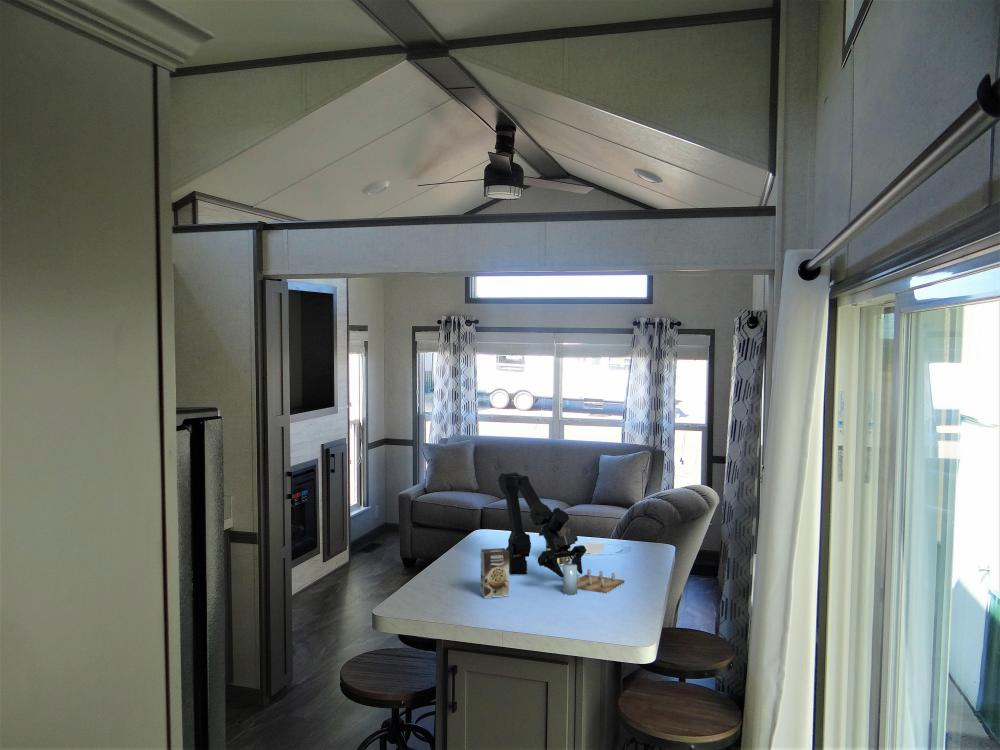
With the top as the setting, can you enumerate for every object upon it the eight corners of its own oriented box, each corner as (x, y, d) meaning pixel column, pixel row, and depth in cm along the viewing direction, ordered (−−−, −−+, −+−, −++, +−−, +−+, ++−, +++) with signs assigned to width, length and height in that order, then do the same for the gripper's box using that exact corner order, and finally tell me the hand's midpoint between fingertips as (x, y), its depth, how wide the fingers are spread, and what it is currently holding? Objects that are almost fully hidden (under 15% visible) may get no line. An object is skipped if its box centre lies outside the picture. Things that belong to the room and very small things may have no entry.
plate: (557, 546, 360) (557, 544, 360) (612, 540, 370) (612, 539, 370) (585, 559, 334) (585, 558, 334) (643, 553, 344) (643, 552, 344)
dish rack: (566, 586, 292) (566, 576, 292) (585, 577, 306) (585, 566, 306) (606, 593, 284) (606, 582, 284) (624, 582, 297) (624, 572, 297)
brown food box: (484, 599, 278) (484, 552, 278) (480, 594, 284) (479, 548, 284) (509, 596, 281) (509, 551, 280) (504, 591, 287) (504, 547, 287)
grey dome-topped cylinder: (565, 595, 281) (565, 567, 281) (561, 591, 286) (561, 564, 286) (579, 594, 283) (578, 566, 282) (574, 590, 287) (574, 563, 287)
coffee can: (569, 560, 333) (569, 526, 333) (571, 566, 323) (571, 531, 323) (544, 560, 333) (544, 526, 333) (545, 566, 323) (545, 531, 323)
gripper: (541, 528, 282) (560, 566, 273) (583, 523, 293) (602, 559, 283) (529, 547, 289) (547, 584, 280) (570, 540, 299) (589, 576, 290)
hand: (572, 575), depth 283 cm, fingers open, 8 cm apart
